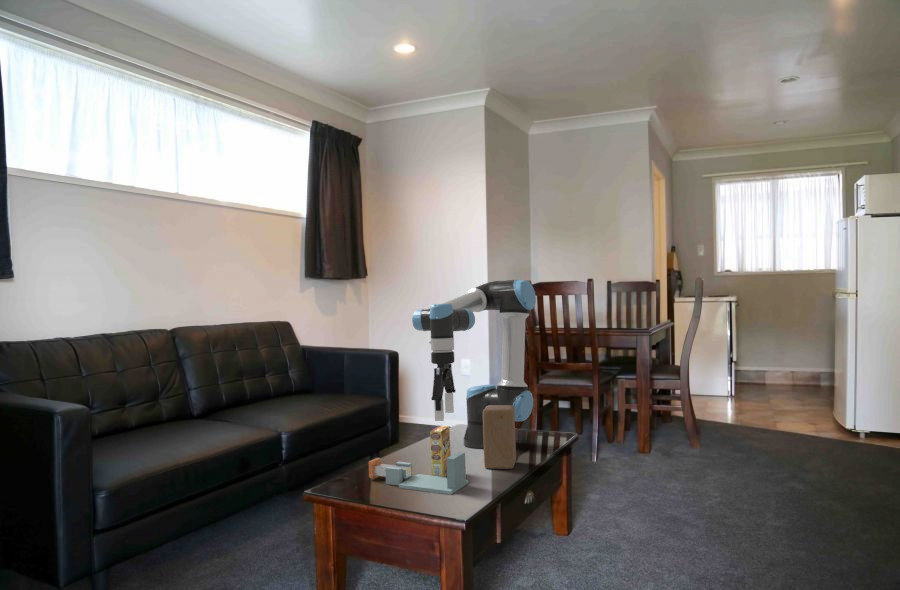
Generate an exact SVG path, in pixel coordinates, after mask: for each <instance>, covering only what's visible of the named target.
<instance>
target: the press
mask: <svg viewBox="0 0 900 590" xmlns="http://www.w3.org/2000/svg"><path fill="white" fill-rule="evenodd" d="M446 461H447V475H446V476H445V477H439V476H432V474H431V475H430V474H429V475H428V474H422V473H421V474H419V473H418V474H415V475H414V476H413V463H412V462H406V461H405V462H404V461H397V462H396V463H395V465H396V466H405V467H411V476H410V477H408V478H406V479H404V478H402V468H397V467H387V468H385V470H386V476H385V484H386V485H393V486H398V489H404V490H413V491H420V492H429V493H435V494H445V495H453V494H455V492H458V491H459V490H460V489H462V488H463V487H465V486H466V485H468V483H469V479H467V476H466V475H467V472H466V468H467V467H466V452H464V451H463V452H461V451H458V452H455V453H453V454H452V455H451V456H450V457H448V458H446Z"/></svg>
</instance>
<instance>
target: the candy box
mask: <svg viewBox="0 0 900 590" xmlns="http://www.w3.org/2000/svg"><path fill="white" fill-rule="evenodd" d="M450 433H451V430H450V425H438V426H436V427H435V428H433V429H432V430H430V431H429V435H430V436H429V438H430V439H429V440H430V442H429V443H430V462H431V463H430V464H431V476H439V477H447V461H446V458H448V457H450V456H452V455H451V434H450Z"/></svg>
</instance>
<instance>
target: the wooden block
mask: <svg viewBox="0 0 900 590" xmlns="http://www.w3.org/2000/svg"><path fill="white" fill-rule="evenodd" d="M483 440H484V448H483V465H484V468H485V469H493V470H495V469H496V470H513V469H514V467H515V464H516V460H517V445H516V443H517V442H516V421H515V412H514V406H512V405H488V406H486V408H485V409H484V410H483Z"/></svg>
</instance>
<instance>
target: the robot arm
mask: <svg viewBox="0 0 900 590" xmlns="http://www.w3.org/2000/svg"><path fill="white" fill-rule="evenodd" d="M536 297H537V296H536V292H535V289H534V287H533V285H532V284H531V282H530V281H528V280H526V279H508V280H495V281H493V280H492V281H489V282H485V283H482V284H480V285H478V286H475V287H473V288H471V289H469V290H468V291H467V292H466V293H465V294H463V295H460V296H458V297H455V298H453V299H450V300H448V301H445V302H443V303H432V304H431V305H430V307H429V308H428V309H424V308H422V309H417V310H415V311H414V313H413V314H412V316H411V317H412V318H411V323H412V327H414V329H415V330H417V331H419V332H421V331H423V332H430V340H429V342H428V343H429V345H430V350H431V353H430V356H431V357H430V359H431V360H430V361H431V364H433V365H437V366H436V367H435V368H434V369H433V385H432V396H431V401H433V402H434V421H435V422H444V421H445V414H449V413H454V412H455V410H454V393H456V388H455V383H454V376H453V372H452V371H453V369H452V368H453V367H452V366H453V365H452V364H454V363H455V352H454V351H453V350H455V338H454V332H461V331H463V332H466V331H469V330H471V329H472V328H473V327H474V325H475V324H476V317H475V313H480V312H482V311H499V315H500V316H501V318H502V343H501V345H502V347H501V350H502V352H501V379H500V381H499V382H498V383H497V384H494V383H492V384H489V383H488V384H482V385H476V386H470V387H469V388H467V389H466V398H465V400H466V416H467V417H466V420H467V424H466V425H467V426H466V429H465V432H464V437H463V445H464V447H468V448H471V449H472V448H473V449H484V440H483V410H484V409H485V408H486V406H488V405H512V406H514V412H515V422H524V421H526V420H527V419H528V418H529V417H530V415H531V414H532V411H533V407H534V397H533V394H532V392H531V391H529V390H528V384H527V383H526V382H525V379H524V377H525V350H526V349H525V342H526V341H525V340H526V337H525V336H526V319H527V318H528V317H529V316H530V311H532V310H533V309H534V308H535V305H536V302H537V298H536ZM474 312H475V313H474ZM444 390H445V393H444ZM443 396H444V399H443ZM444 411H445V412H444ZM444 413H445V414H444Z"/></svg>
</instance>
